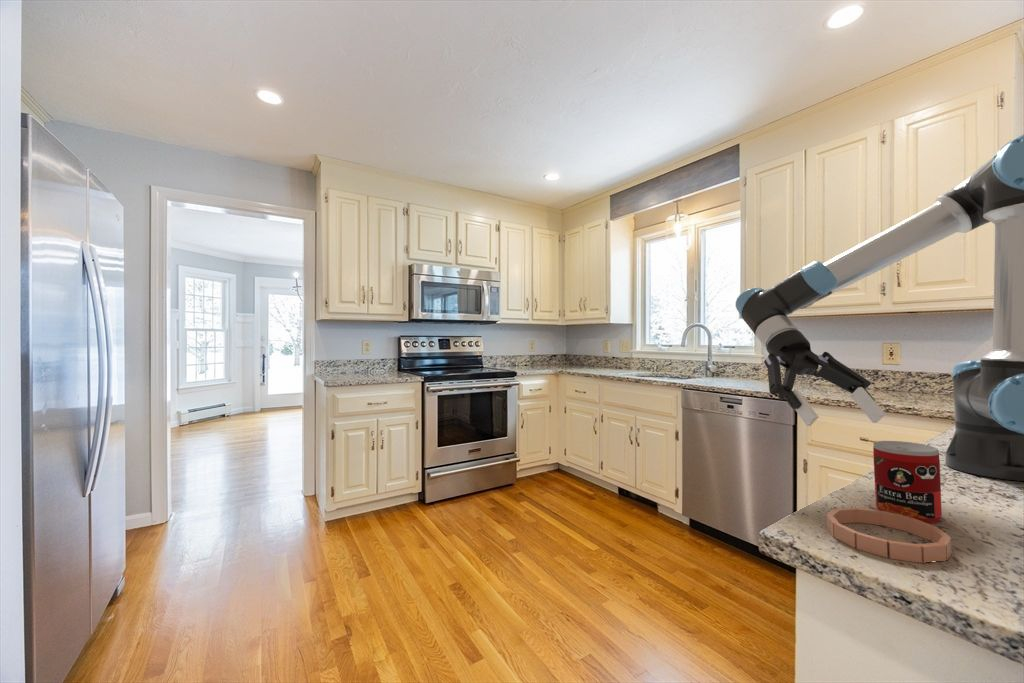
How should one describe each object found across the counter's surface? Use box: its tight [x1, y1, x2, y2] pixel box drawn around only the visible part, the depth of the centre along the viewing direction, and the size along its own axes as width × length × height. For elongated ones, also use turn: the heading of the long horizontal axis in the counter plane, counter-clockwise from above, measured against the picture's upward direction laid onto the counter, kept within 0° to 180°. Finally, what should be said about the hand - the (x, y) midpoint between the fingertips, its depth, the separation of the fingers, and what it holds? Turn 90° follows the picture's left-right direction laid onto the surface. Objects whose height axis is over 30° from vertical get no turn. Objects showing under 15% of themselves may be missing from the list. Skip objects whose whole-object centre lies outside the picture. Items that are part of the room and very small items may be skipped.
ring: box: [826, 506, 952, 564], centre depth 58 cm, size 13×13×2 cm
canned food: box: [872, 440, 943, 524], centre depth 66 cm, size 8×8×11 cm
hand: (846, 420), depth 76 cm, fingers open, 13 cm apart
